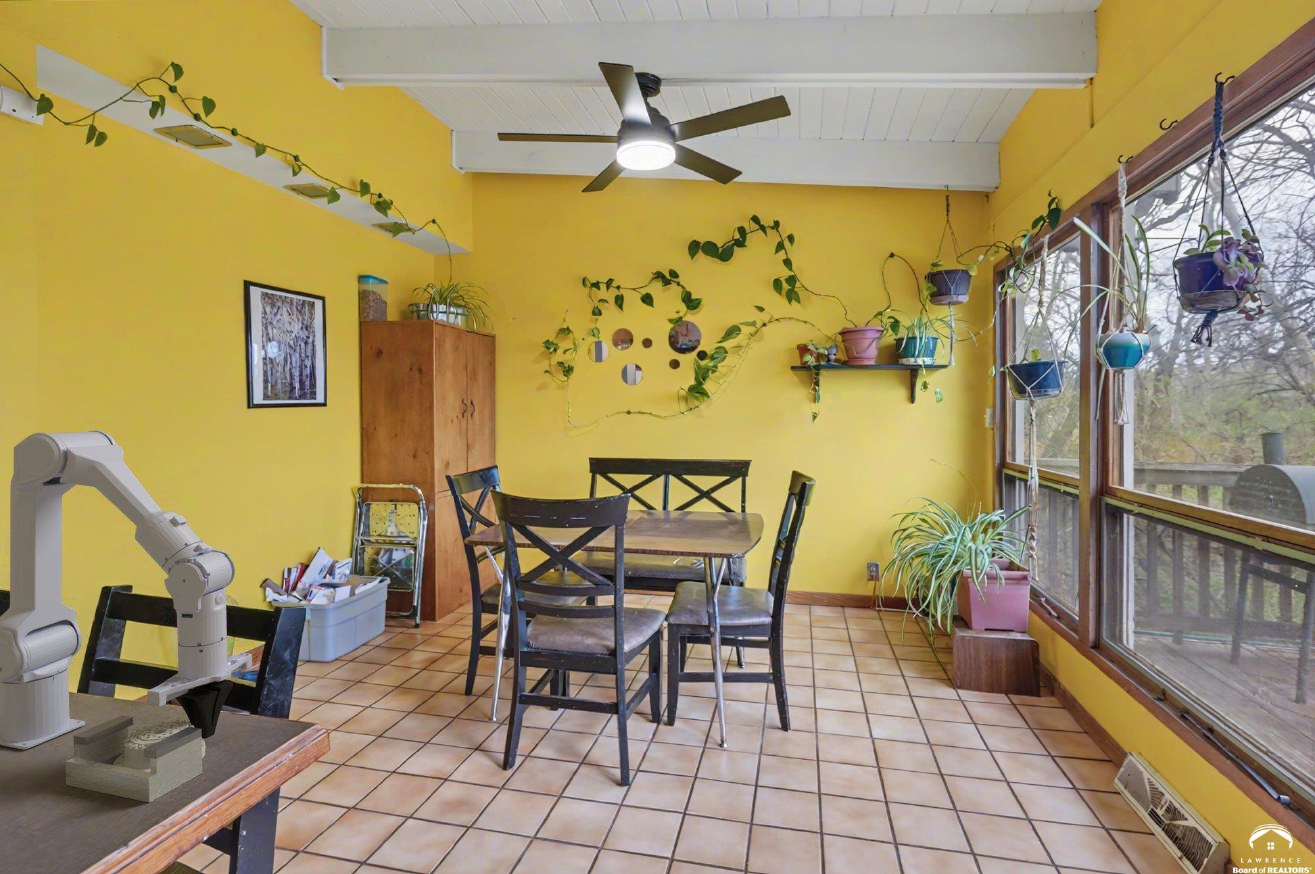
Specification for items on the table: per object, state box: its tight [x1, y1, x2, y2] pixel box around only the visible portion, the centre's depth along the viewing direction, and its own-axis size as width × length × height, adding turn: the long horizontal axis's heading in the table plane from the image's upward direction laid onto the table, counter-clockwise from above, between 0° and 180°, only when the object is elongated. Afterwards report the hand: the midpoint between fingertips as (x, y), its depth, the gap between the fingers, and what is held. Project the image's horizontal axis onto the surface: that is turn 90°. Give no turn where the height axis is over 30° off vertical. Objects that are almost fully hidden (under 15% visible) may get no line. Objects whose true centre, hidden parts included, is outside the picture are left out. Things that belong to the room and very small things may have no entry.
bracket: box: [64, 715, 203, 803], centre depth 88 cm, size 14×7×6 cm, turn 74°
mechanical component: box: [113, 719, 206, 772], centre depth 92 cm, size 10×4×10 cm
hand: (204, 735), depth 97 cm, fingers closed
